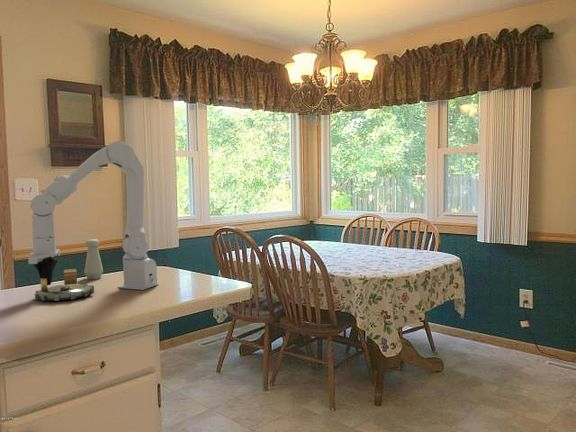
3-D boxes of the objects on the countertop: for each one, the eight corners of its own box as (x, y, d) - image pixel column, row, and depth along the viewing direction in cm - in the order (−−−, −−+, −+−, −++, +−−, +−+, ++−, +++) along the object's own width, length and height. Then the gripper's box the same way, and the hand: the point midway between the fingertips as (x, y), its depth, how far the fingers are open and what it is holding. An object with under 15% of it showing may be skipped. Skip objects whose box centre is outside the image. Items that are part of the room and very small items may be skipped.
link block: (77, 287, 150) (76, 271, 150) (64, 288, 149) (63, 272, 148) (77, 284, 155) (76, 268, 154) (64, 285, 153) (63, 269, 153)
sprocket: (86, 299, 132) (86, 282, 131) (25, 302, 130) (24, 284, 129) (100, 286, 147) (99, 271, 147) (45, 289, 145) (44, 273, 144)
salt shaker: (96, 280, 160) (94, 240, 159) (81, 279, 161) (79, 240, 160) (106, 276, 166) (105, 238, 165) (91, 276, 167) (89, 238, 166)
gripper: (42, 234, 145) (44, 279, 146) (15, 240, 130) (18, 290, 131) (66, 234, 145) (68, 279, 146) (42, 240, 130) (44, 290, 131)
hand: (46, 284), depth 139 cm, fingers closed, pressing on sprocket
